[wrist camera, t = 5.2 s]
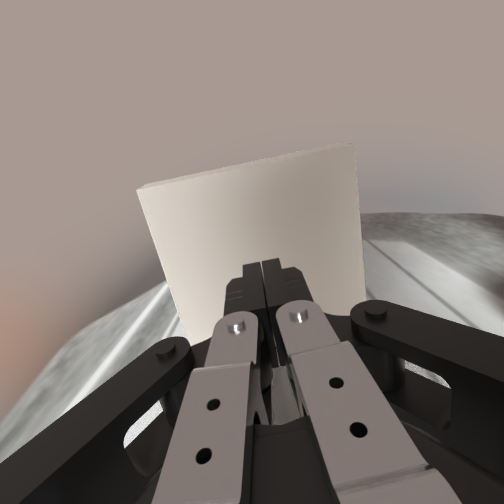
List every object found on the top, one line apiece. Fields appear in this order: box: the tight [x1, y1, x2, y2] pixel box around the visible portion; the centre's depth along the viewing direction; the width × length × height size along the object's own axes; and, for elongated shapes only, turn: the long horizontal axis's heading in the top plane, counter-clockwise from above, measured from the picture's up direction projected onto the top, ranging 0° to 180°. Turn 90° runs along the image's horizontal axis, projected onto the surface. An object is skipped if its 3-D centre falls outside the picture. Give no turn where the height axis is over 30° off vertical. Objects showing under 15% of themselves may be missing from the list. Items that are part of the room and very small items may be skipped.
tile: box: [136, 142, 367, 346], centre depth 20 cm, size 12×2×12 cm, turn 92°
